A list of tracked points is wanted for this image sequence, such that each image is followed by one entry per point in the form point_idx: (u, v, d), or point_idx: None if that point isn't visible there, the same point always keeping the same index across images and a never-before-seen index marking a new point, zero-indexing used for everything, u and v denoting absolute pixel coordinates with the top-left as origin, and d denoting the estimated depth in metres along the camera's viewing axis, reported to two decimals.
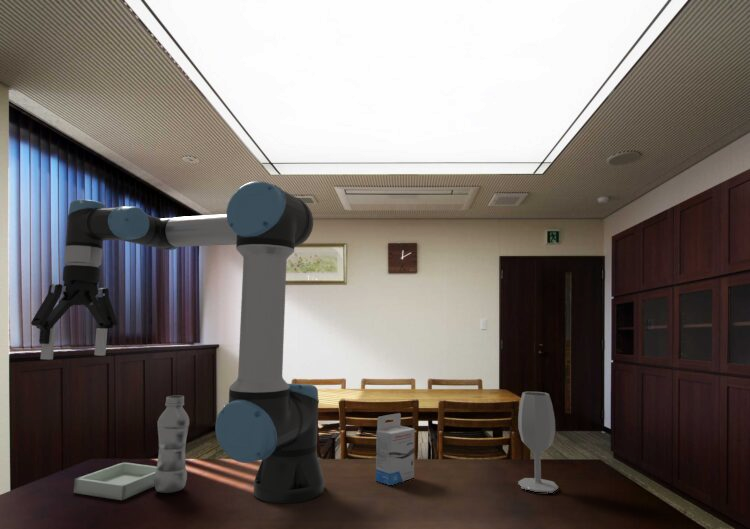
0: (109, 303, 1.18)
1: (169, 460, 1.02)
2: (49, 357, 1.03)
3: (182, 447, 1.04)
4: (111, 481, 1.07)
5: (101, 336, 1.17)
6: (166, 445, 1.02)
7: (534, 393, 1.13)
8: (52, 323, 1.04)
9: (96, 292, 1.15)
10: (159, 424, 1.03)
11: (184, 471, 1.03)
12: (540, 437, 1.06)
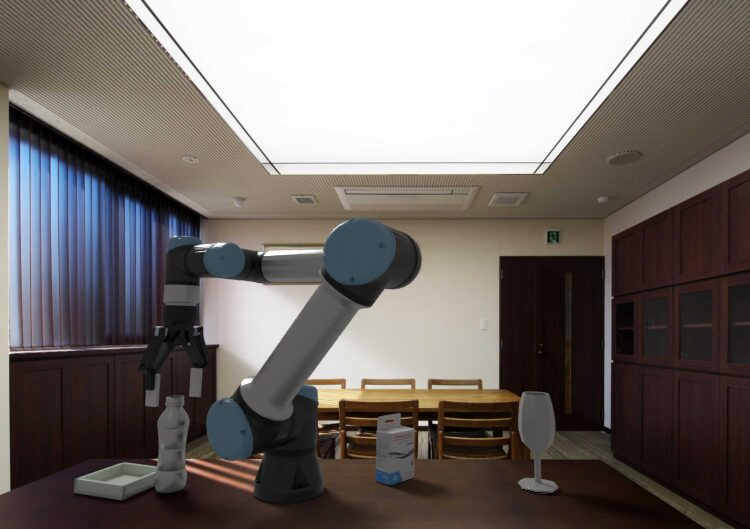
0: (203, 342, 1.14)
1: (169, 460, 1.02)
2: (155, 404, 0.98)
3: (182, 447, 1.04)
4: (111, 481, 1.07)
5: (196, 376, 1.12)
6: (166, 445, 1.02)
7: (534, 393, 1.13)
8: (157, 368, 0.99)
9: (193, 331, 1.10)
10: (159, 424, 1.03)
11: (184, 471, 1.03)
12: (540, 437, 1.06)
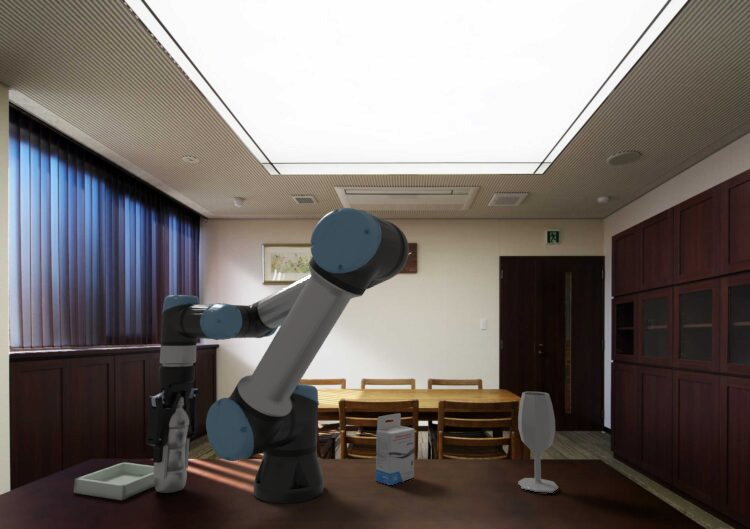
0: (196, 406, 1.10)
1: (168, 460, 1.01)
2: (163, 476, 1.00)
3: (181, 447, 1.04)
4: (111, 481, 1.07)
5: None
6: None
7: (534, 393, 1.13)
8: (164, 439, 1.00)
9: (189, 391, 1.08)
10: None
11: (184, 471, 1.03)
12: (540, 437, 1.06)
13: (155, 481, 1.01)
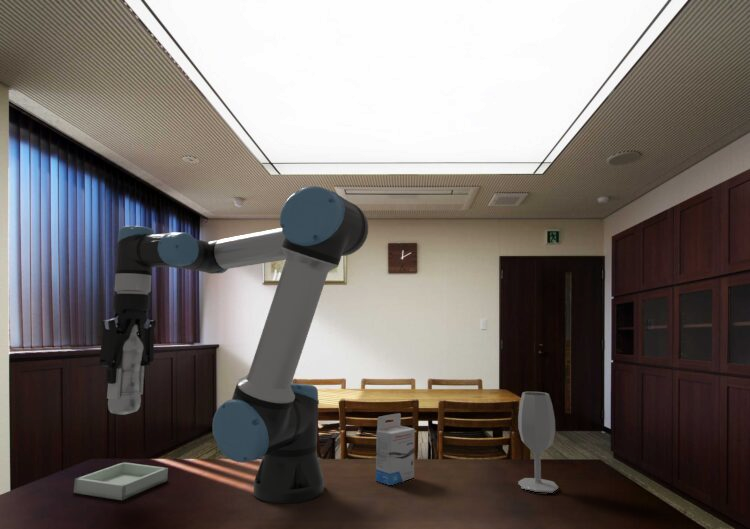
0: (152, 336, 1.14)
1: (122, 383, 1.05)
2: (116, 397, 1.03)
3: (135, 371, 1.07)
4: (111, 481, 1.07)
5: None
6: None
7: (534, 393, 1.13)
8: (118, 362, 1.04)
9: (145, 320, 1.12)
10: None
11: (138, 394, 1.07)
12: (540, 437, 1.06)
13: (109, 403, 1.05)
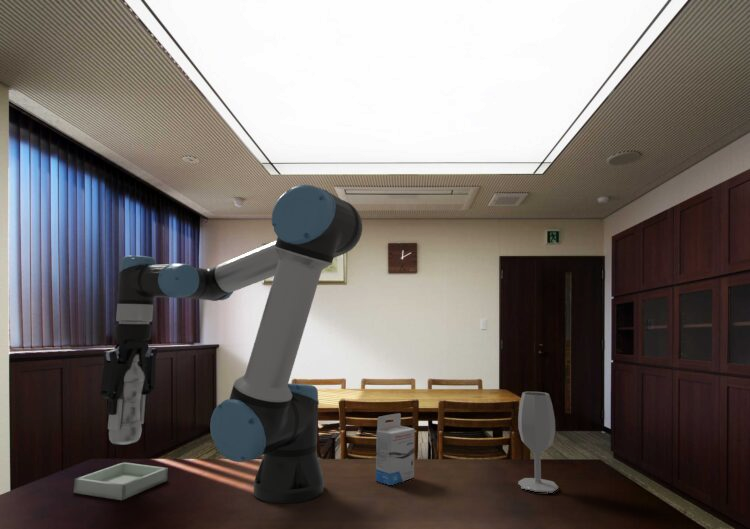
0: (154, 365, 1.14)
1: (123, 413, 1.05)
2: (117, 428, 1.04)
3: (136, 401, 1.07)
4: (111, 481, 1.07)
5: None
6: None
7: (534, 393, 1.13)
8: (118, 393, 1.04)
9: (146, 349, 1.12)
10: None
11: (138, 424, 1.07)
12: (540, 437, 1.06)
13: (109, 433, 1.05)
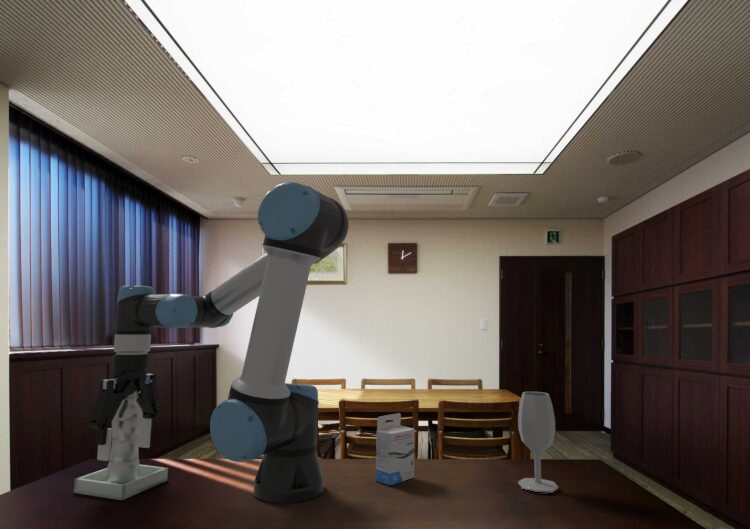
0: (155, 390, 1.14)
1: (121, 451, 1.05)
2: (106, 458, 1.01)
3: (134, 439, 1.07)
4: None
5: (145, 427, 1.12)
6: (118, 437, 1.05)
7: (534, 393, 1.13)
8: (109, 422, 1.02)
9: (144, 379, 1.11)
10: None
11: (136, 462, 1.06)
12: (540, 437, 1.06)
13: (107, 472, 1.04)
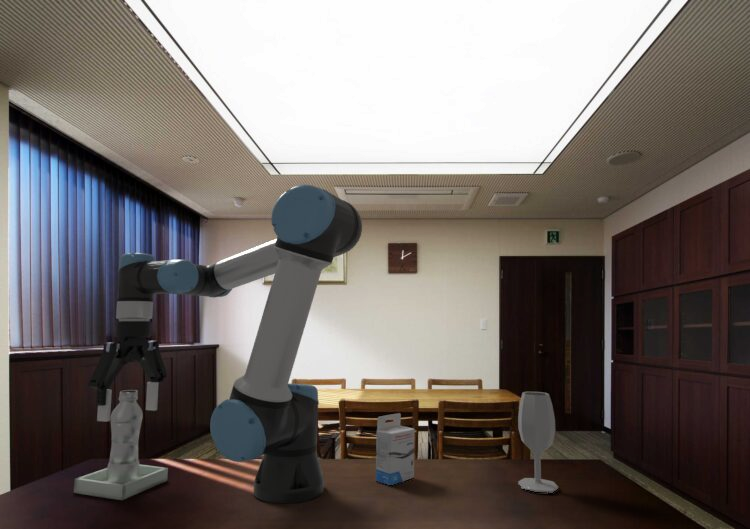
0: (159, 356, 1.16)
1: (120, 454, 1.04)
2: (106, 419, 1.00)
3: (134, 441, 1.06)
4: None
5: (152, 390, 1.14)
6: (118, 439, 1.04)
7: (534, 393, 1.13)
8: (108, 384, 1.01)
9: (147, 346, 1.12)
10: (111, 418, 1.05)
11: (136, 464, 1.06)
12: (540, 437, 1.06)
13: (107, 473, 1.04)
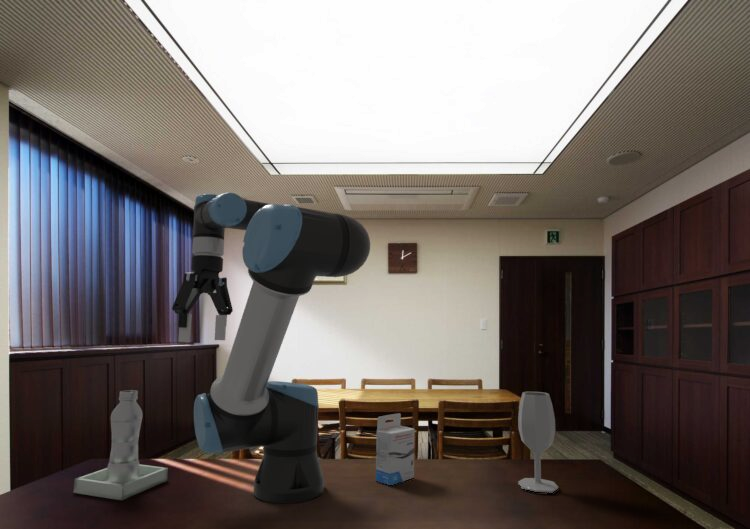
0: (227, 291, 1.26)
1: (120, 453, 1.04)
2: (187, 340, 1.11)
3: (134, 440, 1.06)
4: None
5: (221, 322, 1.24)
6: (118, 438, 1.05)
7: (534, 393, 1.13)
8: (189, 308, 1.12)
9: (218, 281, 1.23)
10: (112, 418, 1.05)
11: (136, 464, 1.06)
12: (540, 437, 1.06)
13: (107, 473, 1.04)
